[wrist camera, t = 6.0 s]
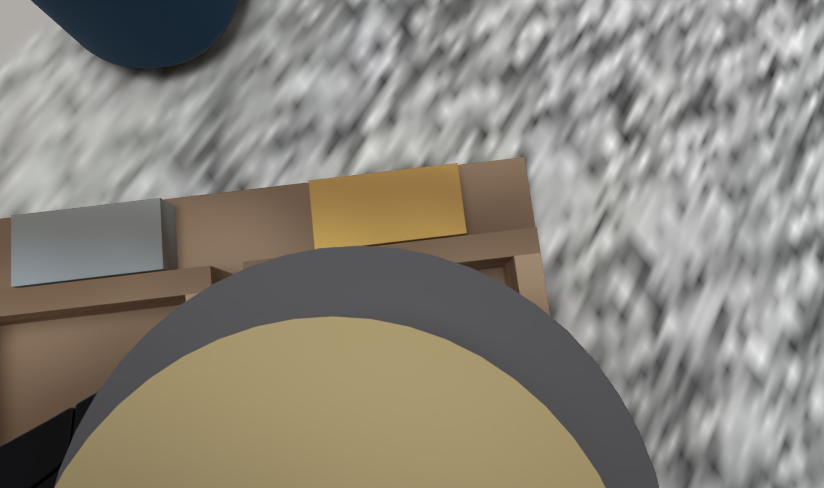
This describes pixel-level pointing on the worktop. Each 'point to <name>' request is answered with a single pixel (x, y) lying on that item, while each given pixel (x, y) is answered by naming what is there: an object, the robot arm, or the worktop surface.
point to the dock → (225, 262)
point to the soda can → (142, 28)
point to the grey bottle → (357, 387)
